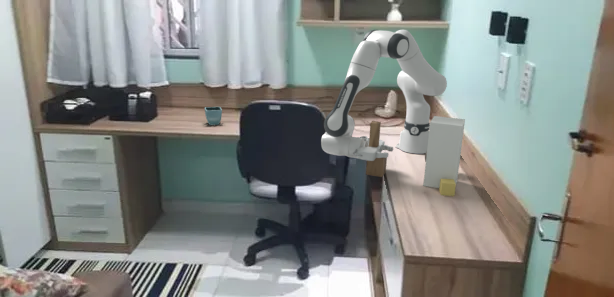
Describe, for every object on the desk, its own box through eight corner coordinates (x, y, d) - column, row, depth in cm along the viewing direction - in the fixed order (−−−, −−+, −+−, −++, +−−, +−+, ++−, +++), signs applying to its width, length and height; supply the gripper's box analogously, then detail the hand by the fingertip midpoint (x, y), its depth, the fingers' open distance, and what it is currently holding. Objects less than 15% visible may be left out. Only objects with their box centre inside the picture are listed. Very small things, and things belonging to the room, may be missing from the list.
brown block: (373, 119, 209) (390, 121, 206) (369, 169, 215) (385, 171, 213) (369, 123, 202) (386, 125, 200) (365, 174, 209) (382, 177, 207)
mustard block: (439, 190, 194) (440, 178, 193) (452, 191, 194) (453, 179, 193) (440, 195, 190) (442, 183, 188) (454, 196, 189) (455, 184, 188)
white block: (427, 176, 209) (434, 115, 202) (457, 180, 205) (465, 119, 198) (423, 185, 199) (430, 122, 191) (454, 190, 195) (462, 126, 187)
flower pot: (204, 122, 283) (204, 107, 280) (220, 121, 286) (220, 106, 283) (206, 126, 275) (206, 110, 272) (222, 125, 278) (222, 110, 275)
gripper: (351, 147, 201) (385, 151, 196) (364, 135, 219) (396, 139, 214) (350, 162, 202) (384, 167, 198) (363, 148, 221) (394, 153, 216)
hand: (390, 152), depth 206 cm, fingers open, 8 cm apart
